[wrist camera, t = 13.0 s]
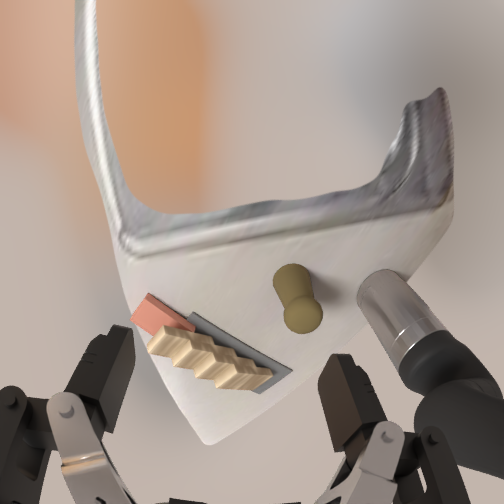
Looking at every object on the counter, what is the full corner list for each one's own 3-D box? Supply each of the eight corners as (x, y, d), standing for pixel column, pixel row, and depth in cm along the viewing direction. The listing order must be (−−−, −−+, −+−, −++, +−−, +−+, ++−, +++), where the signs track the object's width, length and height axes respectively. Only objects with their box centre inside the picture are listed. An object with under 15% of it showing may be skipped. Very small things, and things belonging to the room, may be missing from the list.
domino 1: (194, 332, 44) (144, 298, 42) (176, 350, 46) (129, 319, 43) (195, 326, 46) (148, 293, 43) (177, 344, 48) (133, 314, 45)
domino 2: (214, 344, 46) (165, 333, 39) (195, 362, 47) (148, 353, 41) (211, 336, 47) (163, 324, 40) (193, 354, 48) (146, 344, 42)
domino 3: (237, 356, 47) (192, 348, 41) (217, 372, 49) (173, 366, 42) (233, 348, 49) (189, 339, 42) (214, 364, 50) (171, 357, 44)
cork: (306, 296, 45) (323, 340, 35) (271, 296, 45) (279, 341, 35) (312, 264, 43) (333, 303, 33) (274, 263, 42) (285, 303, 32)
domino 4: (256, 367, 49) (215, 361, 42) (236, 382, 50) (195, 378, 44) (253, 359, 50) (212, 352, 44) (233, 374, 52) (193, 369, 45)
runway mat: (291, 369, 52) (292, 371, 52) (259, 392, 55) (259, 394, 55) (193, 311, 45) (192, 313, 45) (164, 343, 48) (164, 344, 48)
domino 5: (273, 375, 50) (237, 372, 44) (253, 390, 52) (216, 388, 45) (270, 368, 51) (233, 364, 45) (250, 383, 53) (213, 380, 47)
